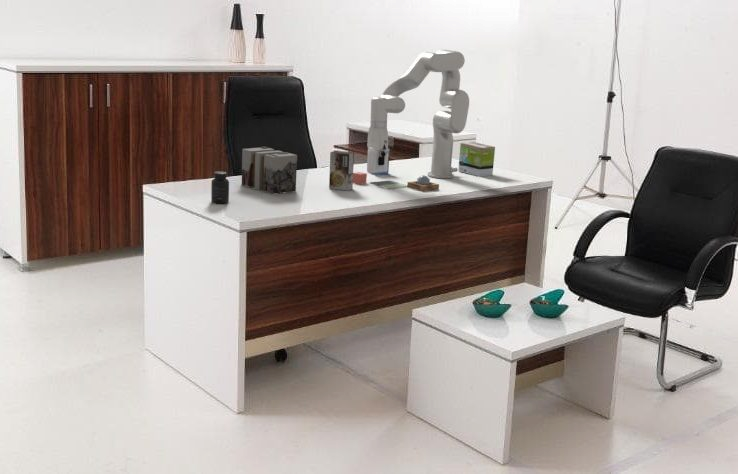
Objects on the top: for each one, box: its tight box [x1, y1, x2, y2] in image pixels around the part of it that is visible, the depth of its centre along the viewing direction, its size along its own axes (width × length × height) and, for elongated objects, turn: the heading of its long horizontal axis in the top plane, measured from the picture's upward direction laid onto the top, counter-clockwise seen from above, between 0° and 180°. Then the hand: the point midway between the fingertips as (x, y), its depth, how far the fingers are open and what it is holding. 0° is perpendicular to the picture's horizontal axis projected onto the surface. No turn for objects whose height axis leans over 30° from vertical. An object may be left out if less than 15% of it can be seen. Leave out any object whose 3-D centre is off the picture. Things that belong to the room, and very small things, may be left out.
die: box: [353, 171, 368, 185], centre depth 411 cm, size 4×4×5 cm
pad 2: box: [379, 182, 408, 190], centre depth 408 cm, size 12×6×1 cm, turn 129°
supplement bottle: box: [210, 170, 230, 205], centre depth 354 cm, size 7×7×12 cm
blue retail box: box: [369, 148, 391, 176], centre depth 436 cm, size 9×4×12 cm, turn 121°
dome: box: [416, 175, 431, 185], centre depth 406 cm, size 6×6×5 cm
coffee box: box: [328, 150, 355, 192], centre depth 395 cm, size 9×6×16 cm
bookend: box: [241, 146, 298, 195], centre depth 387 cm, size 16×25×16 cm, turn 43°
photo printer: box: [366, 147, 389, 174], centre depth 417 cm, size 10×4×12 cm, turn 124°
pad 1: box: [369, 179, 399, 187], centre depth 413 cm, size 12×6×1 cm, turn 129°
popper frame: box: [406, 180, 440, 192], centre depth 407 cm, size 10×10×2 cm
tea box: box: [457, 141, 496, 178], centre depth 451 cm, size 15×10×15 cm, turn 41°
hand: (377, 163), depth 417 cm, fingers closed on photo printer, 4 cm apart
